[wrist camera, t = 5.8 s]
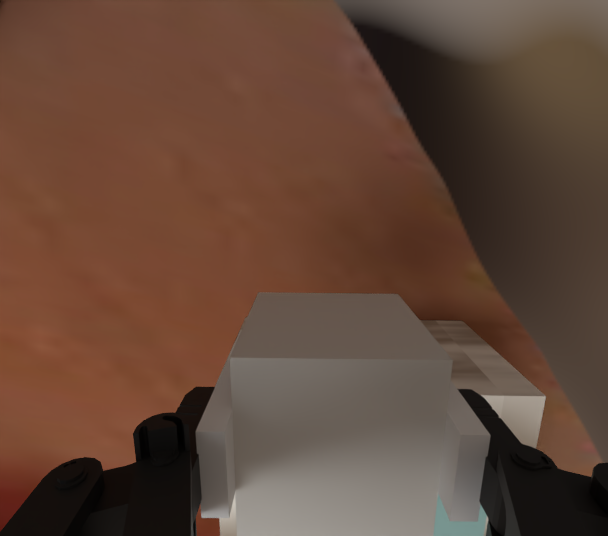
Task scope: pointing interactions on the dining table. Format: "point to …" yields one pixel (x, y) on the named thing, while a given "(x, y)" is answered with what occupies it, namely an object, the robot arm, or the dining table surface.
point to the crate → (474, 387)
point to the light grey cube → (337, 417)
